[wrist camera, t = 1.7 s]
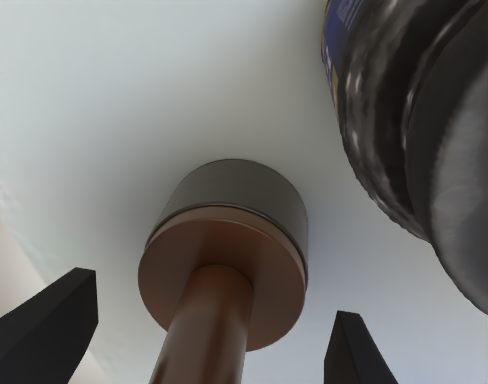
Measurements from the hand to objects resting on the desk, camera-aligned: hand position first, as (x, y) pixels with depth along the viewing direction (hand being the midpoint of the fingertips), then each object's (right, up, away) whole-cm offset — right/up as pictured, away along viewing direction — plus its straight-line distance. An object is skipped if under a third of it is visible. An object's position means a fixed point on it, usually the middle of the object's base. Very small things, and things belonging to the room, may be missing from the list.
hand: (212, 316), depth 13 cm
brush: (+1, +2, +5) cm, 6 cm away
